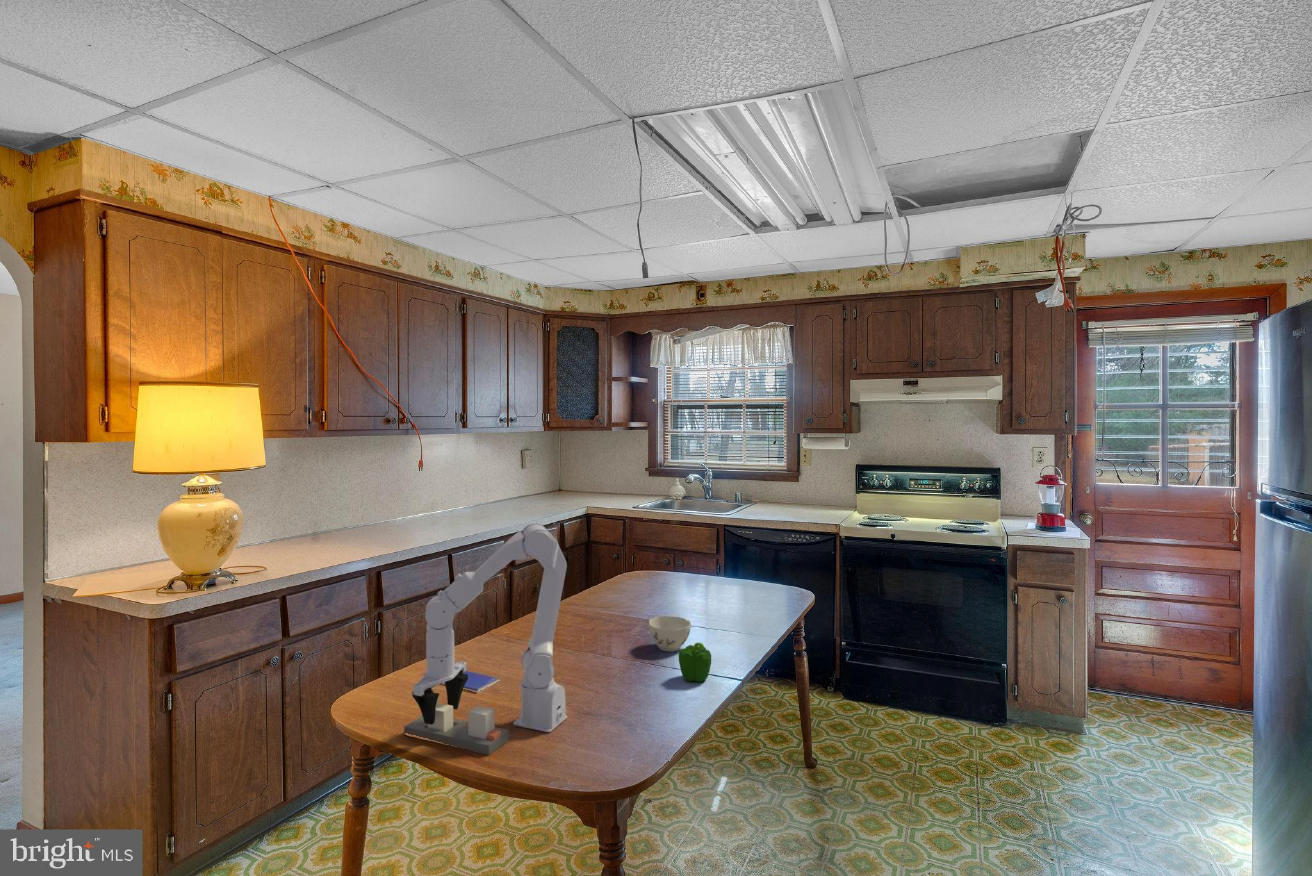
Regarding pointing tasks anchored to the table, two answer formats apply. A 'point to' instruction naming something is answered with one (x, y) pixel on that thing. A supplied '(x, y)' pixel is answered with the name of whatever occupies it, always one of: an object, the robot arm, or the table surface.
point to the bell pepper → (695, 662)
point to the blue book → (479, 681)
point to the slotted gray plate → (466, 732)
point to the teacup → (669, 632)
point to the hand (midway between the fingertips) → (441, 715)
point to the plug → (442, 718)
